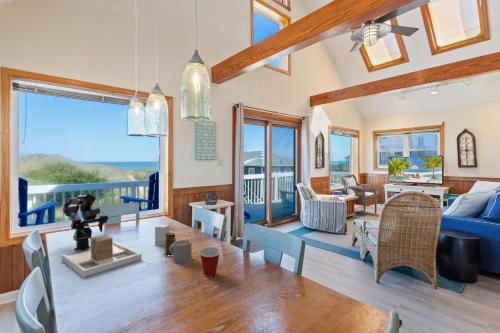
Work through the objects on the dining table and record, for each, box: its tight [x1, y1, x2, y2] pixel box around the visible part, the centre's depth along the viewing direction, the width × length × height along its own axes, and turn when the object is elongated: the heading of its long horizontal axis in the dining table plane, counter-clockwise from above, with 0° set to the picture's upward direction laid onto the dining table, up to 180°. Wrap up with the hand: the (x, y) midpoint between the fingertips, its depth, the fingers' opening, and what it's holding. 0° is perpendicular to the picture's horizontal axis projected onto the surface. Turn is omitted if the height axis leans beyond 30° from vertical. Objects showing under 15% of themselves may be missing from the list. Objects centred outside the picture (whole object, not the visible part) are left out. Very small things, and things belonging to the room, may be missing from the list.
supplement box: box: [154, 224, 171, 247], centre depth 170 cm, size 7×7×13 cm
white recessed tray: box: [61, 241, 142, 278], centre depth 143 cm, size 34×29×3 cm
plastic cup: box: [198, 246, 222, 277], centre depth 125 cm, size 11×11×12 cm
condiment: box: [163, 232, 177, 258], centre depth 152 cm, size 7×8×12 cm
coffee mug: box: [170, 239, 193, 264], centre depth 144 cm, size 13×10×10 cm
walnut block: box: [90, 234, 114, 261], centre depth 143 cm, size 9×8×11 cm
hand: (94, 233), depth 149 cm, fingers open, 8 cm apart
